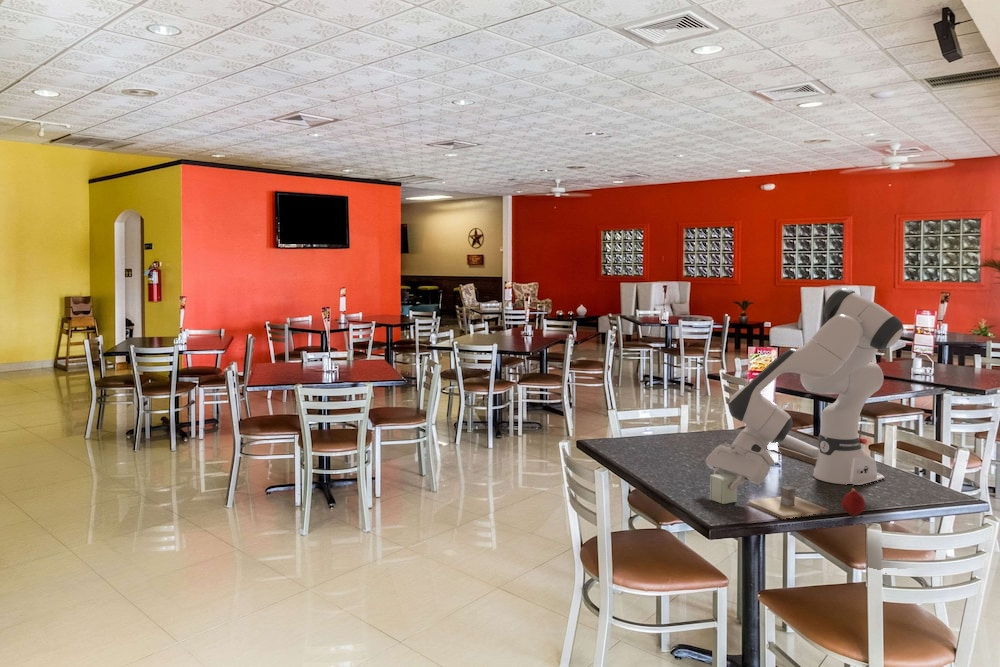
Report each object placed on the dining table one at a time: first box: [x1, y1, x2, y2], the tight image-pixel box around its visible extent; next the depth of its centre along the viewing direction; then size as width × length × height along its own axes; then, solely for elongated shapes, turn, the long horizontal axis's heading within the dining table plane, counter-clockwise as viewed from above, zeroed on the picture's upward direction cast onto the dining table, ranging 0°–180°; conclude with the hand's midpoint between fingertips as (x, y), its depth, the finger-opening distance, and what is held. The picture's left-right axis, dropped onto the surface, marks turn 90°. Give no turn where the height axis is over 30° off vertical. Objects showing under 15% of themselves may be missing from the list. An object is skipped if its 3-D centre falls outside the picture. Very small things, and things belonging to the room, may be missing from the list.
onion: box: [841, 488, 866, 518], centre depth 206 cm, size 6×6×8 cm
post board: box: [747, 486, 829, 520], centre depth 213 cm, size 16×14×6 cm
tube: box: [778, 434, 819, 458], centre depth 275 cm, size 5×5×25 cm
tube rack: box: [779, 446, 817, 465], centre depth 275 cm, size 11×28×2 cm, turn 22°
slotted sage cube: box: [709, 473, 738, 505], centre depth 219 cm, size 5×5×7 cm
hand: (722, 485), depth 219 cm, fingers closed on slotted sage cube, 5 cm apart
